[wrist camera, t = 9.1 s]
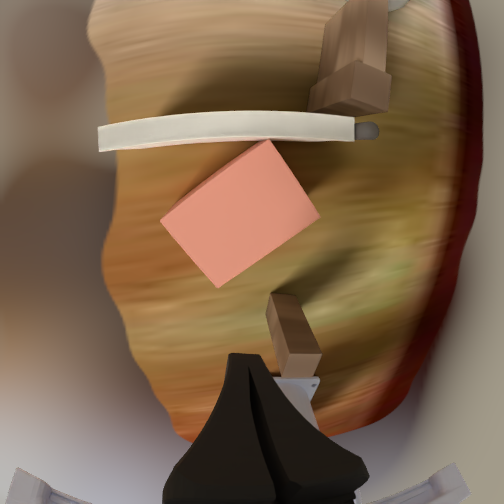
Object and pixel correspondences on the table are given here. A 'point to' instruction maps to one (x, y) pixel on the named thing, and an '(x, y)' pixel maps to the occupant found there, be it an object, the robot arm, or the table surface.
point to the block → (240, 213)
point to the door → (225, 129)
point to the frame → (353, 105)
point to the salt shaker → (395, 4)
